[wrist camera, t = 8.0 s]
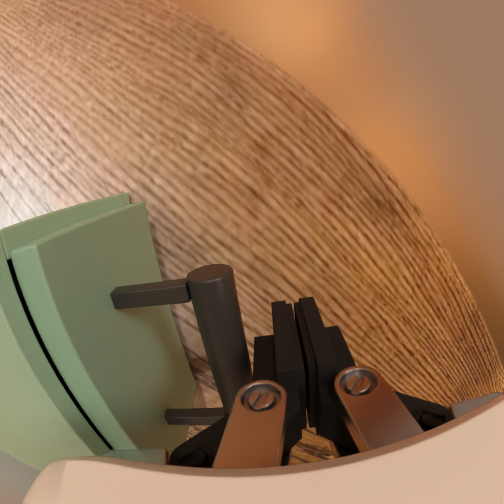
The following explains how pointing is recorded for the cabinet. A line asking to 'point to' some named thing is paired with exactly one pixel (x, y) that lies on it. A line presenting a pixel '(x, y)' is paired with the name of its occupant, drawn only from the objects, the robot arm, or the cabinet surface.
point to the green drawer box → (39, 360)
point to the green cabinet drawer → (128, 328)
